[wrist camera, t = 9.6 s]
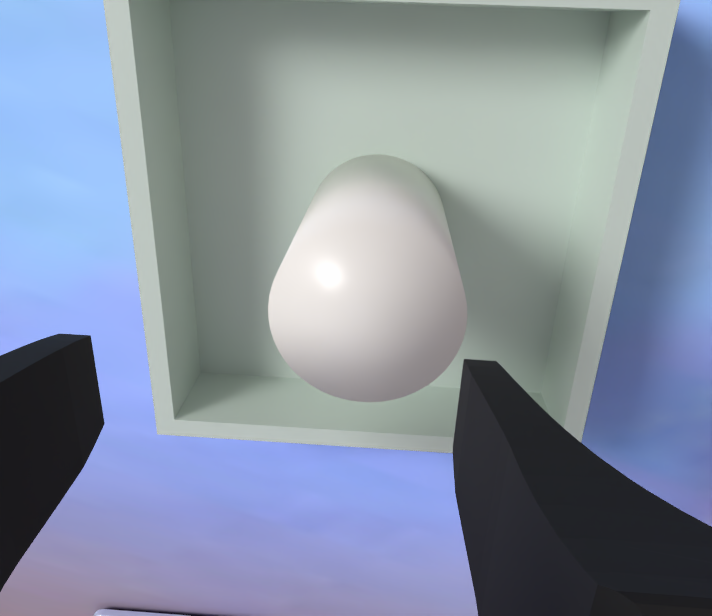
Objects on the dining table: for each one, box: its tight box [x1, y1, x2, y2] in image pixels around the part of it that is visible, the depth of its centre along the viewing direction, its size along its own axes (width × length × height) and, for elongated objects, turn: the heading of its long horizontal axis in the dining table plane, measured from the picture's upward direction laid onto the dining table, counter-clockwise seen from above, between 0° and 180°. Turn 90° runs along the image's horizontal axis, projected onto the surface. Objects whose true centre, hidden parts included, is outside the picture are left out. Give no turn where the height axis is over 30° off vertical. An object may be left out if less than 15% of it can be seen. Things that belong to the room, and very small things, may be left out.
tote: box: [103, 0, 680, 453], centre depth 18 cm, size 13×13×4 cm
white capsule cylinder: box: [268, 154, 467, 402], centre depth 16 cm, size 4×4×7 cm
